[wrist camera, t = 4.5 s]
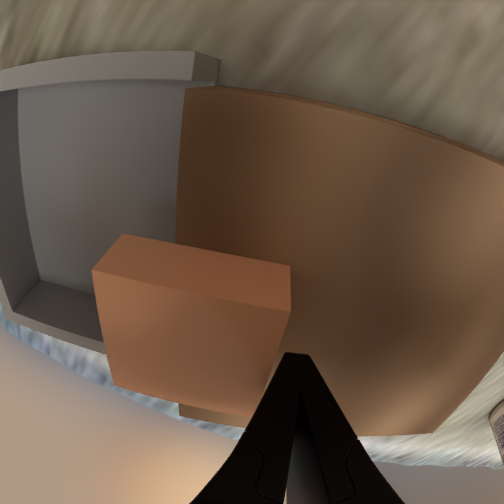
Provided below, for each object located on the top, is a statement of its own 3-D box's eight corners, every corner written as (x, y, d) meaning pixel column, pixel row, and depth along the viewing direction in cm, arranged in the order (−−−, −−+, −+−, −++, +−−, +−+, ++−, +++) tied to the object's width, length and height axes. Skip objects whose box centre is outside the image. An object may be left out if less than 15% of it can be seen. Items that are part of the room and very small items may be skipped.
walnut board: (525, 173, 10) (579, 208, 7) (418, 381, 17) (432, 432, 14) (216, 85, 10) (184, 88, 7) (195, 357, 17) (179, 415, 14)
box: (220, 59, 10) (195, 51, 7) (197, 320, 16) (180, 373, 13) (16, 71, 10) (-37, 81, 7) (39, 282, 16) (7, 319, 13)
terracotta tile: (289, 265, 9) (290, 311, 7) (258, 374, 12) (253, 417, 10) (123, 233, 9) (91, 269, 7) (132, 346, 12) (114, 385, 10)
